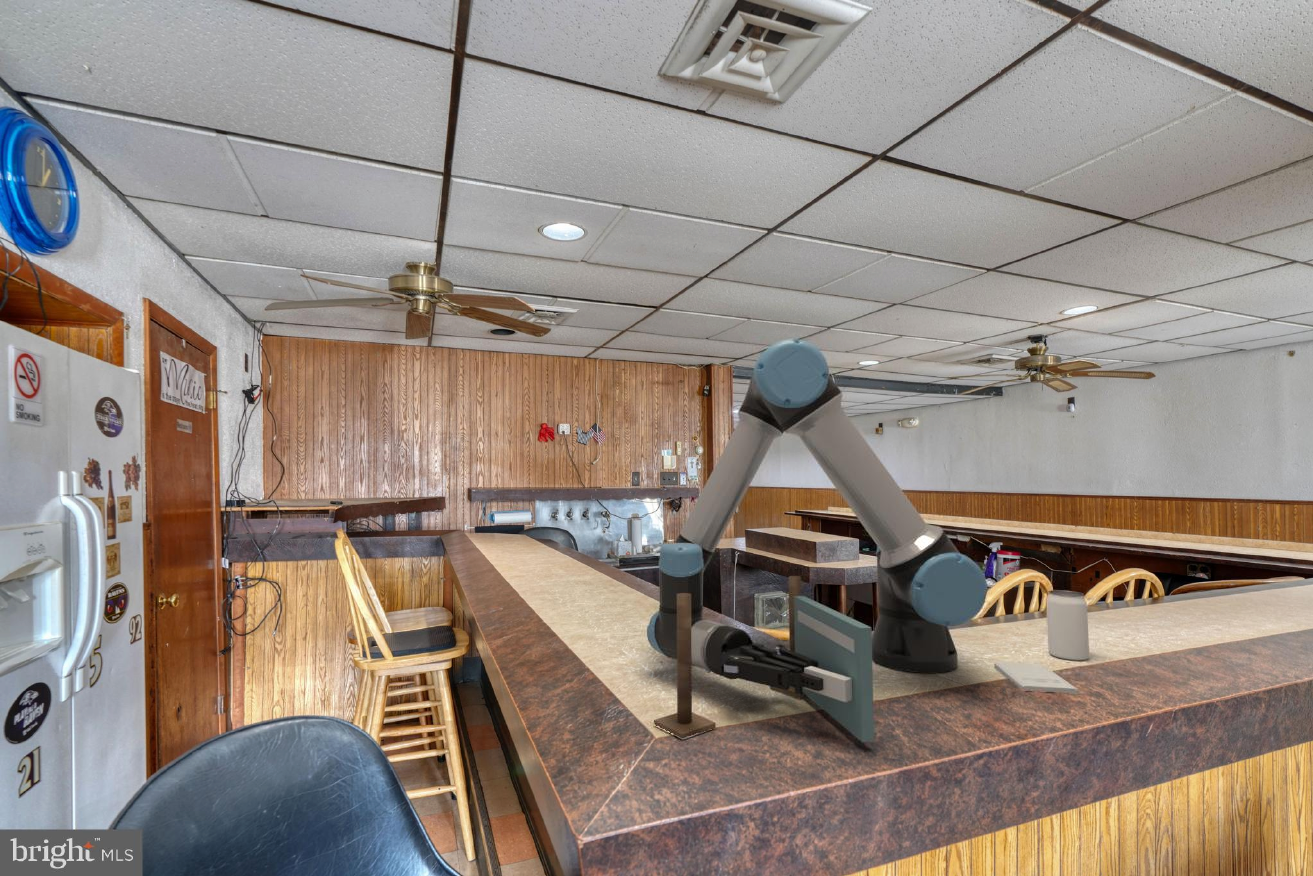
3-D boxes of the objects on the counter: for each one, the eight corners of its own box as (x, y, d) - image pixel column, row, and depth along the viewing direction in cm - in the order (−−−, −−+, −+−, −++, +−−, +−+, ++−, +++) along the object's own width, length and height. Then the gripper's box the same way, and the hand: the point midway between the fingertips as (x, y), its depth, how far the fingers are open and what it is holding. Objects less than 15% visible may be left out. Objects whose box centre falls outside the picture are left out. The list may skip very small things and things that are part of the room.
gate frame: (793, 681, 102) (792, 572, 103) (823, 690, 97) (821, 577, 98) (653, 726, 84) (653, 593, 85) (682, 740, 79) (681, 600, 80)
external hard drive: (1044, 673, 108) (1079, 698, 95) (994, 671, 109) (1022, 695, 97) (1043, 664, 108) (1079, 688, 95) (993, 661, 109) (1022, 684, 97)
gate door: (795, 685, 96) (793, 596, 97) (805, 685, 97) (803, 595, 97) (862, 742, 76) (859, 628, 77) (874, 741, 76) (871, 627, 77)
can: (1097, 661, 112) (1094, 596, 113) (1062, 661, 113) (1059, 596, 113) (1074, 651, 119) (1071, 589, 120) (1041, 651, 119) (1038, 589, 120)
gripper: (749, 665, 100) (878, 708, 81) (689, 681, 92) (817, 733, 73) (748, 619, 101) (876, 651, 82) (689, 631, 93) (816, 670, 74)
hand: (848, 690), depth 78 cm, fingers closed
